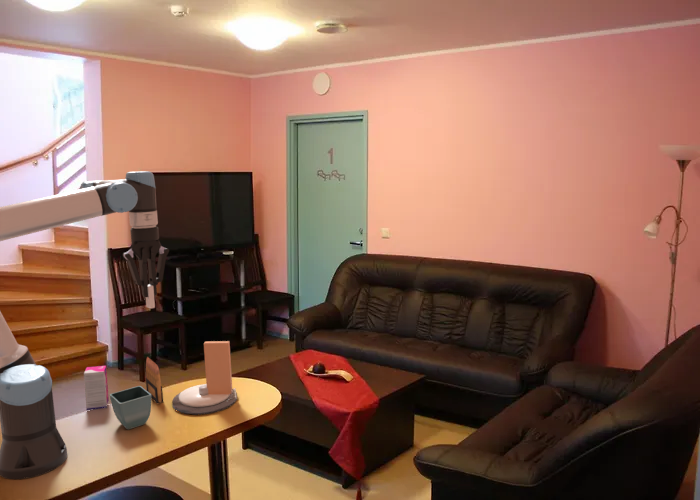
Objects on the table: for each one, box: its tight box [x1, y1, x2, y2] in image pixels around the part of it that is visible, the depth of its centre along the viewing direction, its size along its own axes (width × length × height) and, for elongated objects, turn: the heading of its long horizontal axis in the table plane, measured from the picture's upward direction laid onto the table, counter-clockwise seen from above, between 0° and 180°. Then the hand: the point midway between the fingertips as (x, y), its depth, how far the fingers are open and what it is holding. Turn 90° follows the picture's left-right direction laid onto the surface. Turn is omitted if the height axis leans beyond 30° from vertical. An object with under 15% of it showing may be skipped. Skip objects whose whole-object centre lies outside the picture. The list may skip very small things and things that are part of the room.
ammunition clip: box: [145, 356, 164, 405], centre depth 184 cm, size 11×2×12 cm, turn 35°
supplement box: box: [83, 365, 110, 411], centre depth 179 cm, size 6×6×12 cm
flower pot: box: [109, 385, 152, 430], centre depth 166 cm, size 9×9×9 cm
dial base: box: [171, 387, 238, 416], centre depth 181 cm, size 19×19×4 cm
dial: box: [179, 340, 233, 407], centre depth 179 cm, size 16×15×17 cm
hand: (150, 307), depth 173 cm, fingers closed
